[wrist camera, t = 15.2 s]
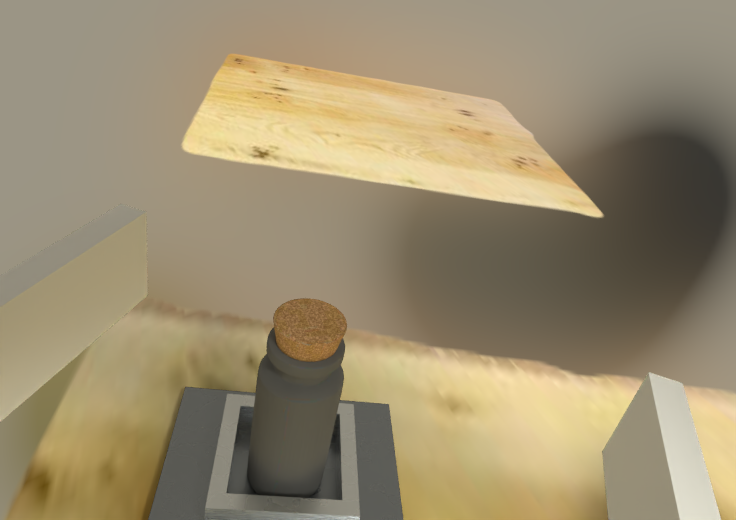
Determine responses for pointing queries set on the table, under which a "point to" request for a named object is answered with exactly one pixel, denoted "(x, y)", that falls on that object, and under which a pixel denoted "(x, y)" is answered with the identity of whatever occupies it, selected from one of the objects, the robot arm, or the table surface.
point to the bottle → (296, 399)
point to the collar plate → (230, 462)
